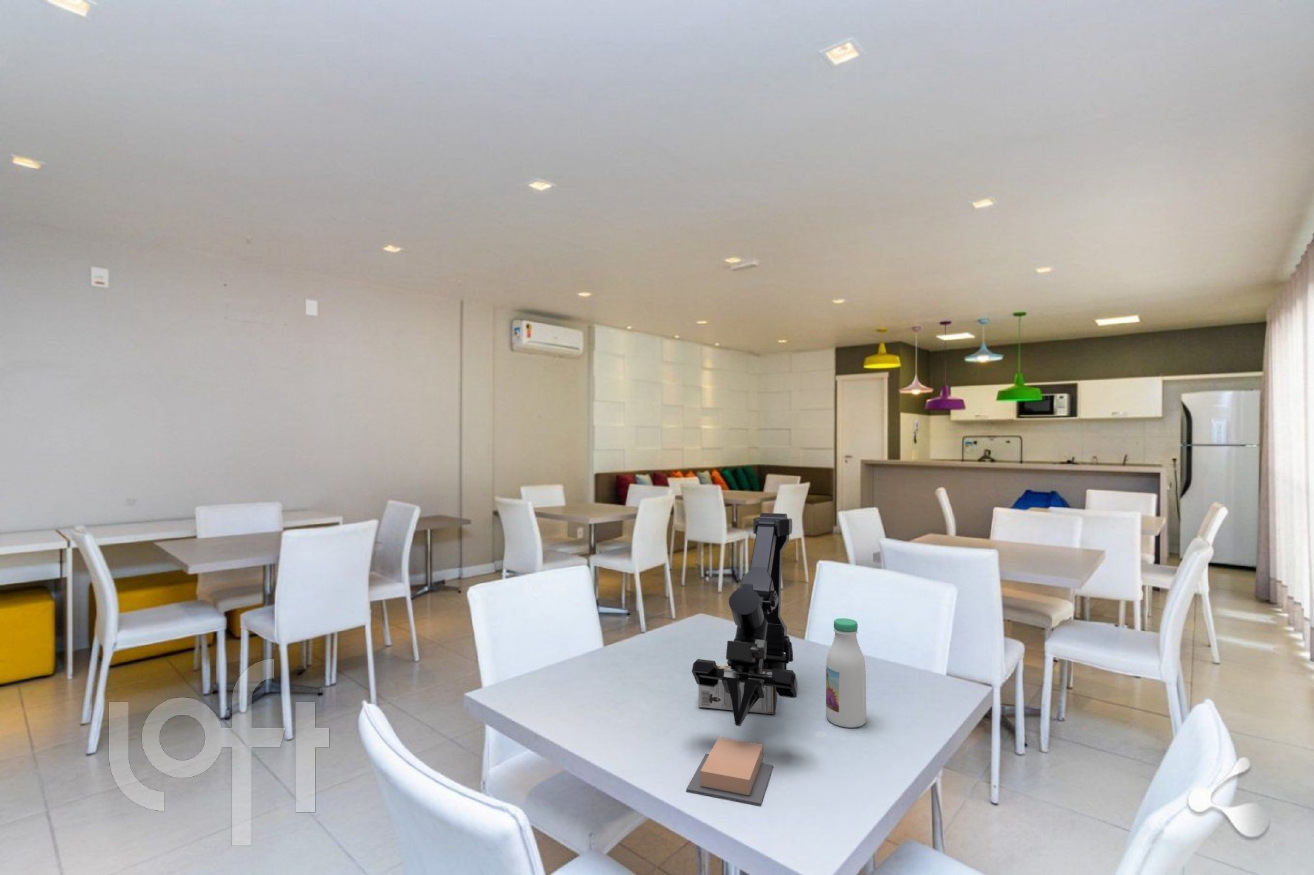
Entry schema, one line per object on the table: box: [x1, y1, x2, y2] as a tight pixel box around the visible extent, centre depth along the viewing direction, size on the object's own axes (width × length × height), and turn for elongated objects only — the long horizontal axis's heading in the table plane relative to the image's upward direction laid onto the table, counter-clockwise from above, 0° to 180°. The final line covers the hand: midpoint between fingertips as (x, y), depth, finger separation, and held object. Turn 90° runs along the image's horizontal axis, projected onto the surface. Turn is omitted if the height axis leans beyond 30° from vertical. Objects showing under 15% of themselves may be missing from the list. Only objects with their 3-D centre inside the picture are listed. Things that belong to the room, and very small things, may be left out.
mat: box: [685, 753, 774, 807], centre depth 104 cm, size 12×12×1 cm
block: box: [700, 737, 764, 796], centre depth 105 cm, size 3×8×12 cm
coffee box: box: [698, 665, 778, 715], centre depth 133 cm, size 9×6×16 cm
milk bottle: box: [825, 617, 867, 729], centre depth 125 cm, size 8×8×20 cm
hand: (737, 724), depth 108 cm, fingers closed
